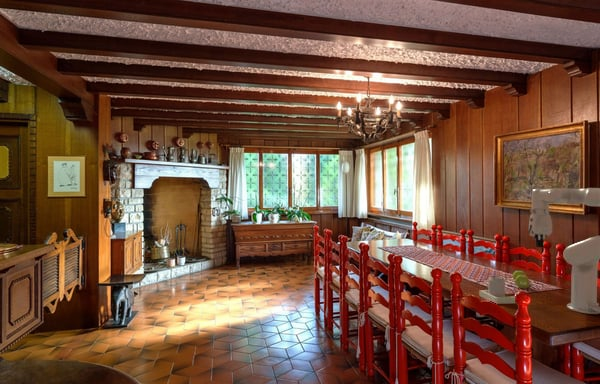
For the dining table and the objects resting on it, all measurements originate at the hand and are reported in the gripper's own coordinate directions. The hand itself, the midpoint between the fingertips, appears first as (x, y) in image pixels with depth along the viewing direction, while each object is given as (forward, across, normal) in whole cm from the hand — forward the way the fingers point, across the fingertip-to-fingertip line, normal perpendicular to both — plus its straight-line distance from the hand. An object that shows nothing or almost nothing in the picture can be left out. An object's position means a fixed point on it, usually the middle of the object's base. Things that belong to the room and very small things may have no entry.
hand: (539, 247), depth 186 cm
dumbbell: (+27, +9, +25) cm, 38 cm away
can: (+27, -24, 0) cm, 36 cm away
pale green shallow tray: (+27, -23, 0) cm, 36 cm away
